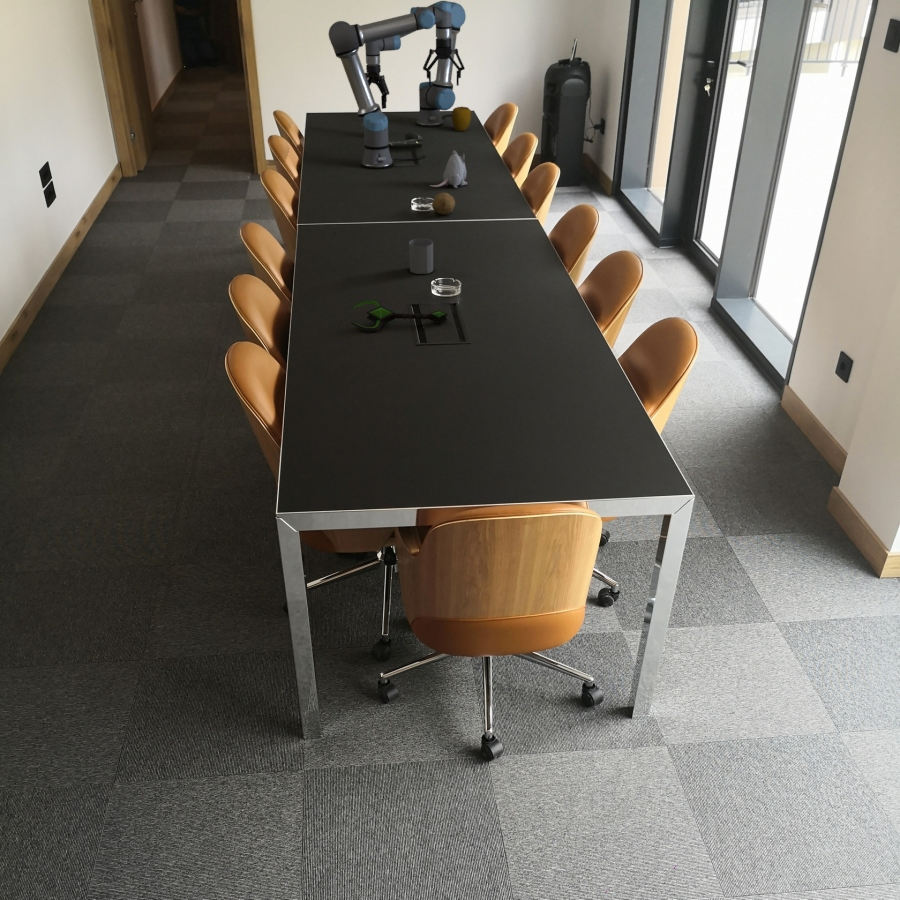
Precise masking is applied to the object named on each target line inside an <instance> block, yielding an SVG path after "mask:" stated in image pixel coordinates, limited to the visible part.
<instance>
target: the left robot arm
mask: <svg viewBox="0 0 900 900" xmlns="http://www.w3.org/2000/svg"><path fill="white" fill-rule="evenodd" d="M441 1H442V2H439V1H436V2H435V3H436V5H435V7H428V6H413V7H411V8H410V10H409V11H410V12H409V13H406V14H403V15H399V16H398V15H397V16H395V17H394V16H393V17H389V18H386V19H382V20H377V21H374V22H370V23H365V24H361V25H360V24H359V23H355V24H350V23H349V22H347V21H344V20H338V21H336V22H333V24H331V26H330V27H329V30H328V39H329V41H330V44H331V46H332V49H333V51H334V55H335V57H336V58H338V59H340V61H341V64H342V67H343V70H344V72H345V75H346V79H347V81H348V83H349V86H350V89H351V92H352V93H353V97H354V100H355V102H356V104H357V108H358V110H357V113H356V114H357V117H358V119H359V121H360V125H361V129H362V131H363V138H364V139H363V140H364V151H363V155H362V159H361V166H362V167H363V168H366V169H371V170H381V169H387V168H390V167H392V166H394V161H416V160H421V159H422V158H424V157H425V156H426V155H425V154H422V155H421V156H418V157H414V158H413V157H412V158H392V155H391V152H390V151H391V150H390V147H389V145H390V144H389V119H388V117H387V115H386V114H385V113H384V114H382V113H383V111H382V108H381V106H380V104H379V103H377V102H375V101H376V100H375V98H374V96H373V92H372V89H371V86H370V87H369V84H368V81H367V80H368V79H367V78H366V75H365V73H366V72H365V69H364V67H363V65H362V61H361V59H360V56H359V53H358V52H359V49H360V48H362V47H364V46H365V43H368V42H372V41H376V40H380V39H384V38H389V37H393V36H397V35H401V34H405V33H409V32H413V31H415V32H417V31H422V30H430V29H432V28H433V27H434V26H435V49H432V48H429V51H428V52H429V53H428V55H427V58H426V60H425V62H424V64H423V66H422V70H423V71H425V72H426V79H428V82H429V86H431V81H432V71H431V69H432V68H433V67H434V66H435V64H437V62H438V59H448V58H449V59H450V60H451V61H452V63H453V66H454V67H455V68H456V69H457V70H456V86H457V87H458V86H459V84H460V83H459V80H460V79H461V78H462V71H463V70H465V65H464V63H463V60H462V59H461V57H460V55H459V50H458V48H455V49H453V50H452V47H451V45H452V39H451V37H452V28H451V22H452V11H451V3H450V2H451V1H448V2H444V1H445V0H441ZM434 24H436V25H434ZM413 33H414V32H413ZM452 52H454V55H455V56H456V59H457V61H458V63H459V65H460V66H459V65H458V63H457V62H456V60H455V59H454V60H453V58H452V57H451V56H450V55H451V54H452ZM434 54H435V55H436V56H434V59H433V60H431V59H432V55H434ZM430 61H431V63H430V64H429V62H430Z"/></svg>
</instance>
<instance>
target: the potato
mask: <svg viewBox="0 0 900 900" xmlns="http://www.w3.org/2000/svg"><path fill="white" fill-rule="evenodd" d="M455 206H456V200H455V198H454V196H452V195H451V194H449V193H448V192H439V193H437V194H436V195H435V197H434V198H433V200H432V201H431V207H432V209H433V210H434V212H436V213H437V214H439V215H441V216H442V215H449V214H450V213H452V212H453V211H454V209H455Z"/></svg>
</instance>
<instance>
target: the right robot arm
mask: <svg viewBox="0 0 900 900" xmlns="http://www.w3.org/2000/svg"><path fill="white" fill-rule="evenodd" d="M442 1H444V2H450V3H451V11H452V22H451V28H452V37H451V39H452V45H451V47H452V50H453V49H456V46H457V45H456V44H457V36H458V34H459V33H460V32H461V27H462V26H464V24H465V22H466V17H467V15H466V9H464V7H463V6H462V5H461V4H460V3H457V2H455V1H448V0H440V1H439V0H438V2H442ZM435 5H436V2H434V3H432V4H430V5H427V7H435ZM434 26H436V24H434ZM415 32H416V31H413V32H409V33H405V34H401V35H397V36H393V37H389V38H384V39H380V40H376V41H372V42H368V43H365V44H364V47H365V49H364V51H365V64H366V65H365V67H366V68H365V69H366V70H365V71H366V72H364V73H365V75H366V78H367V81H368V84H369V87H370V88H371V85H372V84H374V85H376V87H377V88H378V90H379V92H380V94H381V99H380V100H381V101H380V102H381V110H384V109H387V102H388V101H387V100H388V99H387V98H388V97H387V96H389V95H390V91H389V88H388V84H387V82H386V77H385V75H384V74H380V73H381V69H382V68H381V67H382V66H381V52H391V51H398V50H400V49H401V47H402V40H401V39H402V38H404V37H406V36H408V35H410V34H413V33H415ZM450 56H451V57H452V58H453V60H454V61H455V54H454V52H452V54H451V55H450ZM453 68H454V64H453V63H452V61H451V60H450V59H449V58H448V59H438V60H437V67H436V73H435V80H431V86H429V81H422V82H420V83H419V87H418V99H419V101H418V102H419V103H418V104H419V105H418V106H419V111H418V115H417V119H416V125H417V126H419V127H426V128H429V127H432V128H433V127H434V128H435V127H440V126H442V125H444V120H443V119H444V118H445V117H452V113H450V114H444V115H441V114H442V113H441V111H448V110H450V109H451V108H452V107H453V106H454V105H455V102H456V94H455V92H454V84H453V83H452V78H453V70H454V69H453Z"/></svg>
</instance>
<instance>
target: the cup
mask: <svg viewBox="0 0 900 900" xmlns="http://www.w3.org/2000/svg"><path fill="white" fill-rule="evenodd" d="M408 253H409V272H411V273H412V274H416V275H426V274H430V273H432V272H434V241H433V240H431V239H428V238H422V237H421V238H420V237H419V238H414V239H411V240H410V241H409V242H408Z"/></svg>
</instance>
